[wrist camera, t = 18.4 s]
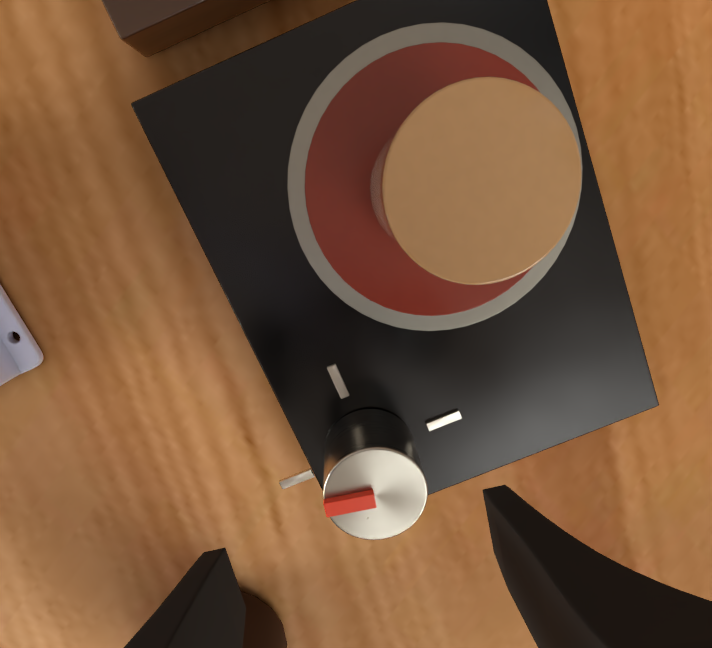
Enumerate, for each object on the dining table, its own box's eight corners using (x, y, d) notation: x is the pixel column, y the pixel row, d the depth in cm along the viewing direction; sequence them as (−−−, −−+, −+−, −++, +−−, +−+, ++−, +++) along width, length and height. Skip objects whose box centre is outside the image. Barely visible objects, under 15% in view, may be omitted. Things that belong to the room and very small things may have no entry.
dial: (405, 400, 20) (420, 442, 16) (420, 479, 21) (437, 535, 17) (316, 417, 20) (312, 464, 16) (334, 496, 21) (334, 555, 17)
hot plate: (624, 395, 24) (667, 426, 20) (321, 514, 24) (319, 560, 21) (496, -37, 19) (528, -81, 16) (127, 130, 20) (89, 119, 17)
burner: (612, 265, 19) (617, 266, 19) (356, 370, 20) (356, 373, 19) (529, -31, 16) (533, -34, 16) (237, 101, 17) (235, 99, 17)
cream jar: (521, 225, 18) (606, 239, 12) (397, 277, 18) (424, 314, 13) (477, 90, 17) (549, 40, 11) (345, 148, 17) (351, 127, 12)
